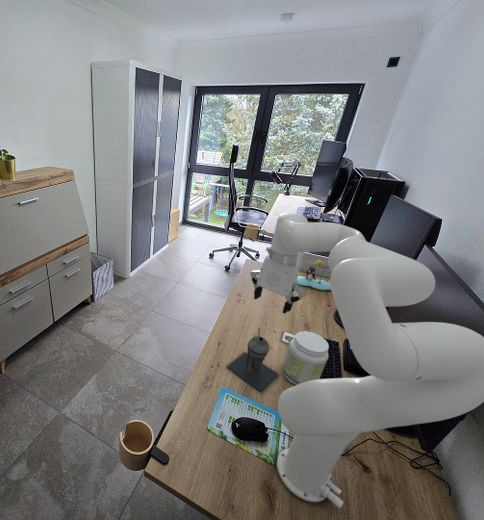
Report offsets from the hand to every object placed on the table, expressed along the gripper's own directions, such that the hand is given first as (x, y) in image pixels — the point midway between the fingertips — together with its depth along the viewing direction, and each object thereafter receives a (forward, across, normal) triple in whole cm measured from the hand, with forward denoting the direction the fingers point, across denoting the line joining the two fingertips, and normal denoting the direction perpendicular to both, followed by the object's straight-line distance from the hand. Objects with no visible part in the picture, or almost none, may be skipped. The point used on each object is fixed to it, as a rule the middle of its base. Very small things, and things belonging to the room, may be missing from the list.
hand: (270, 304), depth 92 cm
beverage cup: (+32, -2, +3) cm, 32 cm away
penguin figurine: (+32, -16, +86) cm, 93 cm away
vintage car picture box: (+32, +3, +33) cm, 46 cm away
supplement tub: (+33, +10, +15) cm, 37 cm away
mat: (+32, -2, +3) cm, 33 cm away
